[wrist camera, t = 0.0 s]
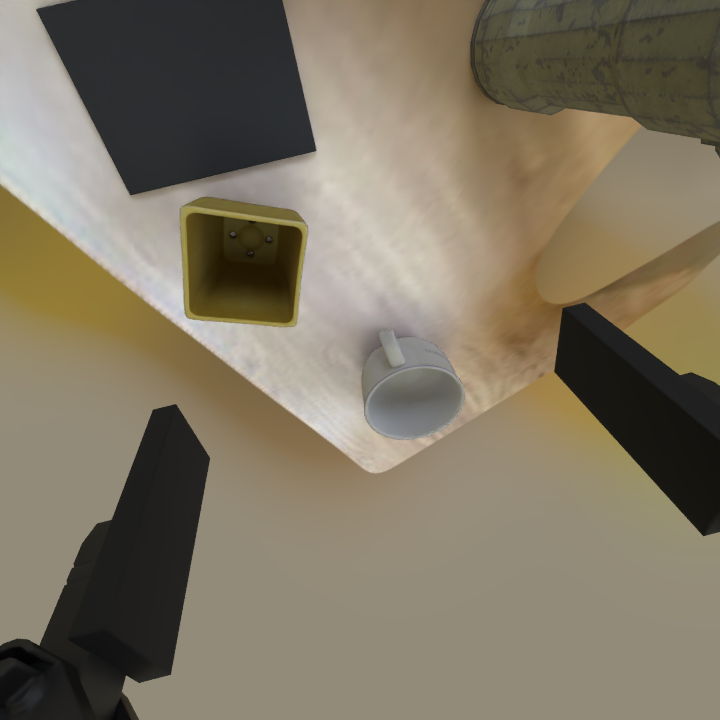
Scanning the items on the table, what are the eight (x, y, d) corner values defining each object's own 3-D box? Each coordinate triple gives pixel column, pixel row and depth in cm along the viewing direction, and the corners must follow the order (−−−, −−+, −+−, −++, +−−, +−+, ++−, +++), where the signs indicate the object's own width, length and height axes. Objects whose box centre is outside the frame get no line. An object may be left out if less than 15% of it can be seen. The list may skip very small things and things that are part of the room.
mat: (38, 9, 27) (35, 9, 27) (271, -44, 27) (271, -45, 27) (131, 194, 34) (130, 195, 34) (316, 150, 35) (316, 151, 34)
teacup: (444, 386, 53) (466, 430, 46) (362, 406, 52) (373, 453, 46) (436, 290, 44) (463, 328, 38) (340, 313, 44) (350, 355, 38)
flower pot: (199, 176, 34) (178, 204, 27) (303, 193, 36) (309, 223, 29) (202, 273, 39) (184, 319, 32) (293, 283, 41) (296, 329, 34)
